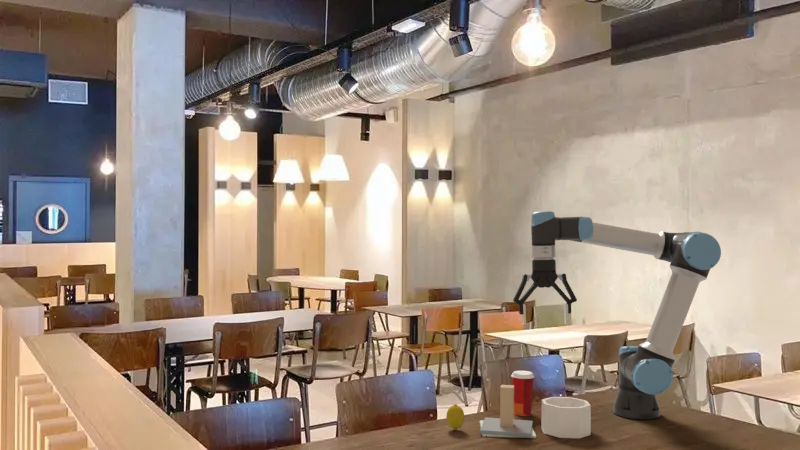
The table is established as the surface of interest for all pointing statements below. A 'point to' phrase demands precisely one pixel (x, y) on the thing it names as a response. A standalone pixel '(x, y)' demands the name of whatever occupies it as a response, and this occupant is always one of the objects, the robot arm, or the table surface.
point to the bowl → (566, 417)
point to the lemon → (455, 417)
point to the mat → (506, 435)
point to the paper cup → (522, 392)
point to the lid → (507, 418)
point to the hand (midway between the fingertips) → (545, 324)
